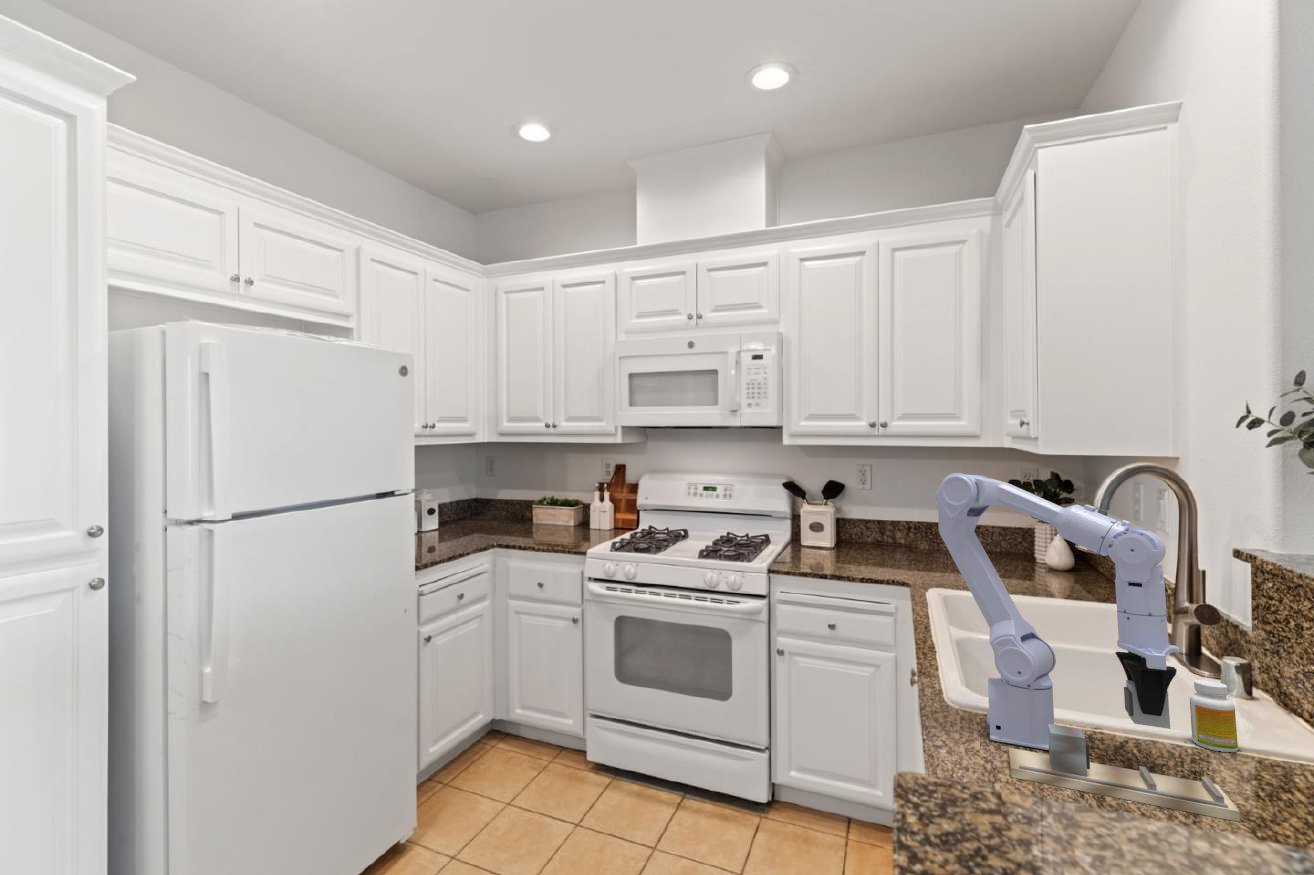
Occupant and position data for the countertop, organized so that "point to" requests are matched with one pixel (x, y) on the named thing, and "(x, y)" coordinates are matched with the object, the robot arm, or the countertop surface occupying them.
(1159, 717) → the finger part
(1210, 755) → the countertop surface
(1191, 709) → the supplement bottle
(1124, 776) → the rail
